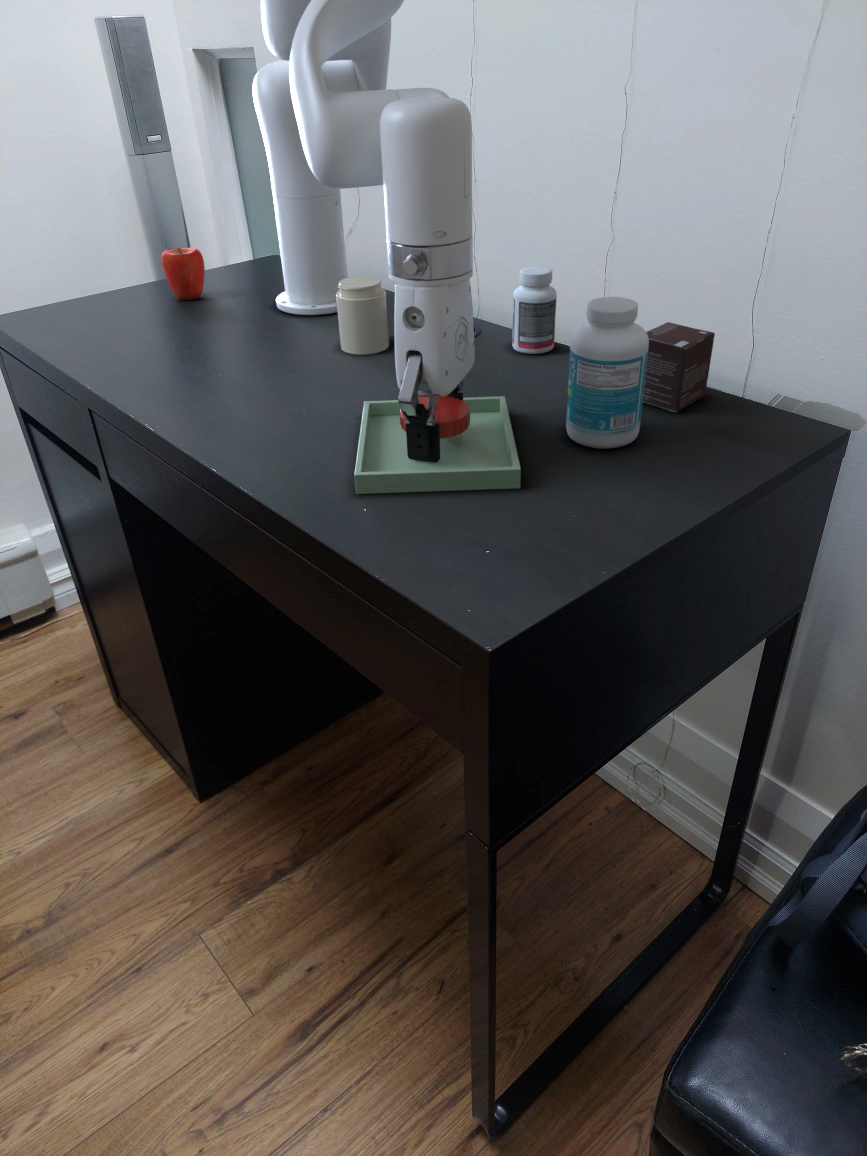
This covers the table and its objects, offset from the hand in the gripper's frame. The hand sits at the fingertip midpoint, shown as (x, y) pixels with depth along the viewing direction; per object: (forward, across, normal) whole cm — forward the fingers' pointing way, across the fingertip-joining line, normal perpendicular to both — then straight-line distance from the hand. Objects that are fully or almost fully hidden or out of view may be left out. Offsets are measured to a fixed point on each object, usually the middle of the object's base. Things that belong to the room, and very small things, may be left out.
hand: (436, 442), depth 84 cm
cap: (-3, 0, 0) cm, 3 cm away
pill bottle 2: (+1, +8, -15) cm, 17 cm away
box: (+1, +19, -21) cm, 28 cm away
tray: (+1, 0, 0) cm, 1 cm away
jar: (+1, +27, +19) cm, 33 cm away
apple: (+1, +42, +56) cm, 69 cm away
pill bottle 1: (+1, +32, -2) cm, 32 cm away
